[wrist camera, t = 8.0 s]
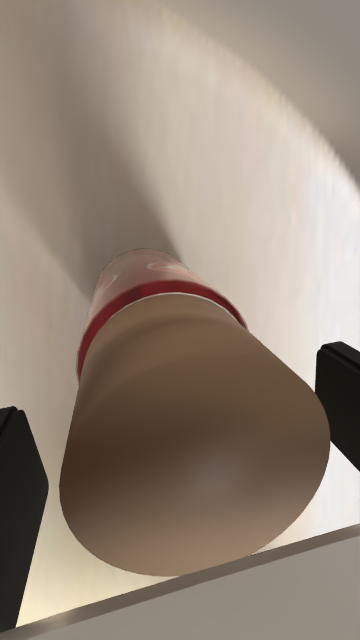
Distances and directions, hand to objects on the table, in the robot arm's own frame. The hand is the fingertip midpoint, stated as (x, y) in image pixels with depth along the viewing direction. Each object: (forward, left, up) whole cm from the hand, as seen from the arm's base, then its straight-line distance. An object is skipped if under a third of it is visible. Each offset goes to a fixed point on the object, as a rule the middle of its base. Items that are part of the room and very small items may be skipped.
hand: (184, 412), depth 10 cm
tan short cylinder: (0, 0, -2) cm, 2 cm away
